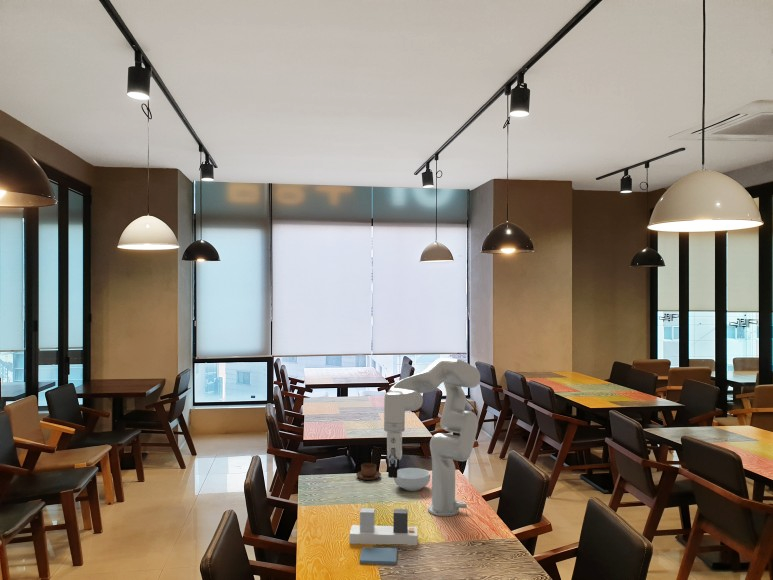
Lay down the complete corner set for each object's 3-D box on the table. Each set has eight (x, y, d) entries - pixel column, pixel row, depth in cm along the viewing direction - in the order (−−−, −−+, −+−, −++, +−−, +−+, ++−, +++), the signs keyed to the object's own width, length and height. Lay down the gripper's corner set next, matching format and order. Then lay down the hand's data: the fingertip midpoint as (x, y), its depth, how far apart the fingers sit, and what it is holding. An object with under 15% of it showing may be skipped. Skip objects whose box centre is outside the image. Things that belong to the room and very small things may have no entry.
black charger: (407, 532, 212) (407, 509, 212) (407, 537, 208) (407, 513, 208) (393, 532, 212) (393, 508, 212) (393, 536, 208) (393, 513, 208)
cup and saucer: (358, 473, 289) (358, 461, 289) (382, 474, 288) (382, 462, 288) (354, 481, 277) (354, 468, 277) (379, 482, 276) (379, 469, 276)
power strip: (417, 536, 214) (417, 525, 214) (417, 545, 206) (417, 533, 206) (351, 534, 215) (351, 523, 215) (349, 543, 207) (349, 532, 207)
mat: (396, 551, 201) (396, 548, 201) (396, 564, 191) (396, 561, 191) (362, 550, 201) (362, 547, 202) (359, 563, 192) (359, 560, 192)
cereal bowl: (412, 480, 280) (412, 465, 280) (437, 488, 267) (437, 473, 267) (385, 487, 268) (386, 472, 268) (411, 497, 256) (411, 480, 256)
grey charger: (374, 531, 212) (374, 508, 212) (373, 536, 208) (374, 512, 208) (360, 531, 213) (361, 508, 213) (359, 535, 209) (360, 512, 209)
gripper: (403, 432, 204) (402, 481, 204) (405, 421, 222) (404, 467, 221) (382, 431, 205) (381, 480, 205) (385, 421, 222) (385, 466, 222)
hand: (393, 473), depth 213 cm, fingers open, 9 cm apart
